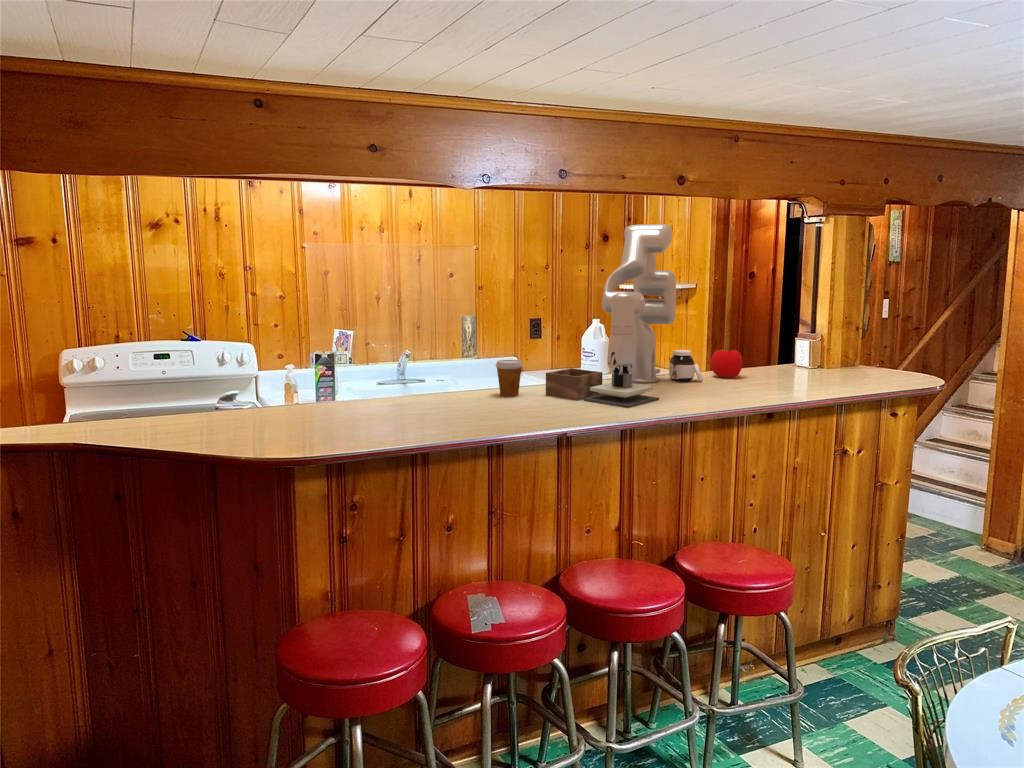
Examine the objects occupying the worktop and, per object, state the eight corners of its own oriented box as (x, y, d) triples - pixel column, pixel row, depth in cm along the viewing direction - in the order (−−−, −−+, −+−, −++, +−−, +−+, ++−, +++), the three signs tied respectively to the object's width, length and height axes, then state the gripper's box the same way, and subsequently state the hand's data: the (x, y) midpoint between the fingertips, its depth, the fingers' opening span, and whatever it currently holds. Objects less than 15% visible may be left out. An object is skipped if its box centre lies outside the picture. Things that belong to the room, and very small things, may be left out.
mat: (615, 393, 260) (615, 391, 260) (659, 399, 248) (659, 397, 247) (583, 400, 247) (583, 398, 247) (628, 408, 235) (628, 405, 235)
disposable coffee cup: (525, 393, 262) (525, 359, 260) (519, 398, 253) (519, 363, 251) (499, 392, 264) (499, 359, 262) (492, 397, 255) (492, 362, 253)
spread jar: (665, 379, 289) (666, 349, 287) (691, 377, 292) (692, 348, 290) (681, 384, 278) (682, 353, 276) (707, 382, 281) (709, 352, 279)
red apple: (726, 380, 284) (728, 351, 282) (702, 376, 296) (703, 347, 294) (749, 378, 290) (751, 349, 288) (724, 373, 302) (725, 345, 300)
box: (571, 390, 267) (571, 368, 266) (602, 394, 258) (602, 372, 256) (545, 395, 257) (545, 372, 256) (577, 400, 248) (577, 377, 246)
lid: (616, 387, 257) (616, 368, 256) (652, 392, 247) (653, 373, 246) (590, 393, 247) (590, 374, 246) (627, 399, 237) (627, 378, 235)
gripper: (627, 328, 252) (626, 381, 255) (598, 332, 240) (597, 387, 243) (646, 329, 247) (644, 383, 250) (617, 333, 235) (616, 390, 238)
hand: (621, 385), depth 246 cm, fingers closed on lid, 3 cm apart
